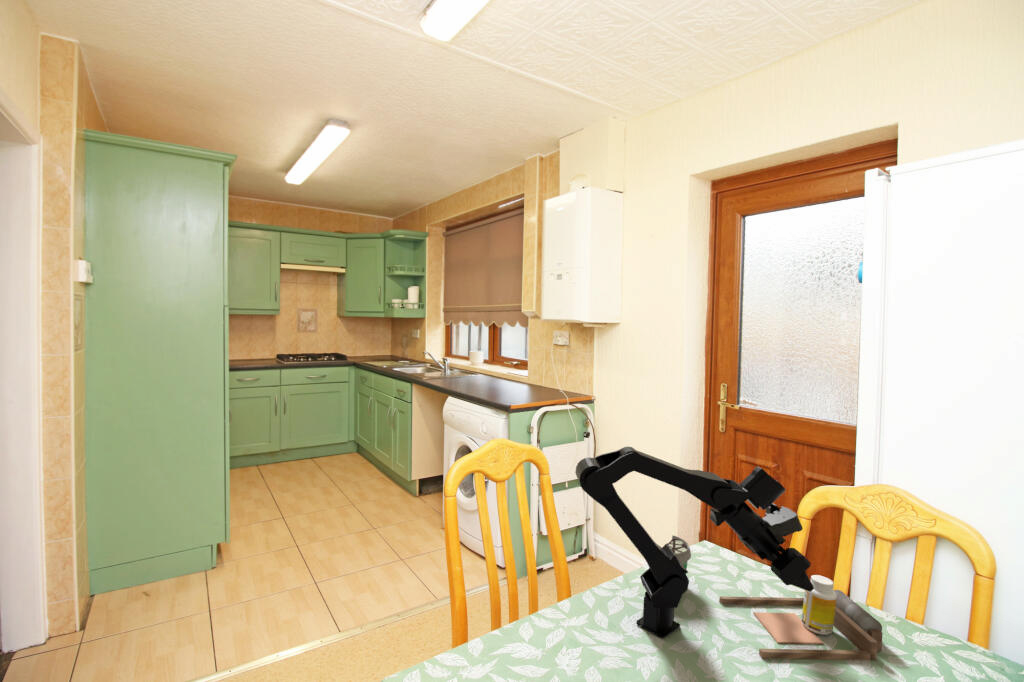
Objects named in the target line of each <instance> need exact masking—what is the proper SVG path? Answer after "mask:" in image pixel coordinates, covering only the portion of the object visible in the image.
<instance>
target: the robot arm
mask: <svg viewBox="0 0 1024 682" xmlns="http://www.w3.org/2000/svg"><path fill="white" fill-rule="evenodd" d="M574 472H575V476H576V478H577V481H578V483H579V486H580V487H581V490H582V491H584V492H585V493H586V494H587V495H588V496H590V498H592V499H593V500H594V502H596V503H597V504H599V505H600V506H602V507H603V508H604V509H605V510H606V511H607V512H608V513H609V515H610V516H611V517H612V519H613V520H614V522H615V523H616V524H617V525H618V527H620V529H621V530H622V531H623V533H624V534H625V535H626V537H627V538H628V539H629V540H630V541H631V543H632V544H633V546H634V547H635V548H636V549H637V552H639V553H640V555H641V556H642V557H643V558H644V560H645V562H646V564H647V565H648V569H646V570H645V571H644V572H643V573H642V574H641V575H640V581H641V583H642V586H643V588H644V590H645V593H644V597H643V609H642V610H643V613H642V616H641V617H640V618H638V619H637V620H636V625H638V626H640V627H641V628H643V629H645V630H647V631H648V632H650V633H651V634H654V636H657V637H659V638H660V639H665V638H666V637H668V636H669V635H671V634H672V633H674V632H675V631H677V630H678V629H680V627H681V624H680V623H679V622H677V621H676V620H674V619H675V609H677V608H678V606H679V604H680V602H681V599H682V598H683V595H685V593H686V592H687V590H688V588H689V584H690V580H689V578H688V575H687V574H688V573H689V571H688V569H687V570H686V568H685V567H684V565H683V564H682V563H681V561H680V560H679V558H678V557H677V556H676V555H674V553H673V552H672V550H671V549H670V547H669V546H668V545H667V543H665V544H664V545H663V546H662V547H661V546H660V545H659V544H657V543H656V541H655V540H654V539H653V538H652V536H651V535H650V534H649V533H648V531H647V529H645V527H644V526H643V525H642V524H641V522H640V521H639V520H638V518H637V517H636V516H635V515H634V513H633V511H632V510H630V508H629V507H628V506H627V504H626V503H625V502H624V500H623V499H622V497H621V496H620V495H619V494H618V492H617V490H616V487H615V486H614V484H615V483H617V482H619V480H620V481H621V479H623V478H624V477H626V476H627V475H628V474H630V473H633V472H635V473H638V474H640V475H643V476H646V477H649V478H651V479H654V480H657V481H660V482H662V483H665V484H668V485H670V486H673V487H676V488H678V489H681V490H683V491H685V492H686V493H689V494H690V495H691V496H693V497H694V498H696V499H698V500H699V501H701V502H702V503H705V504H706V505H708V506H709V507H711V508H710V515H709V519H710V521H711V522H713V524H714V525H715V526H717V527H720V526H721V525H722V524H723V523H724V522H725V523H726V524H727V525H728V526H729V528H731V530H732V531H733V532H734V533H735V534H736V535H737V539H738V540H739V541H740V542H741V543H742V544H743V545H744V546H745V547H746V548H747V549H748V550H750V551H751V553H753V554H755V555H756V556H758V558H760V559H761V560H762V561H763V560H766V561H769V562H771V563H770V571H772V573H774V575H775V576H776V577H778V579H779V580H781V582H782V583H784V584H785V586H790V585H791V586H794V587H796V588H799V589H802V590H804V591H805V590H807V591H809V592H811V591H812V590H813V589H814V587H813V585H812V583H811V578H810V577H809V575H808V574H807V572H806V571H807V570H808V569H809V568H810V567H811V562H810V561H809V559H808V558H807V557H806V556H805V555H804V554H803V553H801V552H800V551H799V550H797V549H796V548H795V547H787V548H786V549H785V548H784V547H783V544H784V543H785V542H786V541H787V540H786V538H785V537H788V536H789V535H792V534H794V533H796V532H801V531H803V526H802V523H801V521H800V518H799V516H798V514H797V513H796V512H795V511H793V510H791V509H790V508H789V507H785V506H783V505H782V506H780V507H779V506H778V505H777V504H775V503H774V502H776V501H777V499H779V498H780V497H781V496H782V495H783V494H784V493H785V492H786V491H787V489H786V488H785V487H784V486H783V485H782V484H781V483H780V482H779V481H778V480H777V479H775V478H774V477H773V476H771V474H769V473H768V472H767V471H765V469H764V468H762V467H760V466H756V467H754V468H753V470H752V471H751V472H750V473H749V474H748V476H746V478H744V479H743V480H742V481H741V482H740V483H739V482H737V481H736V480H733V479H728V478H722V477H720V476H719V475H718V474H717V473H715V472H714V473H713V472H710V471H705V470H699V469H689V468H688V469H687V468H684V467H681V466H679V465H676V464H674V463H671V462H668V461H666V460H663V459H661V458H658V457H656V456H653V455H650V454H647V453H644V452H642V451H639V450H636V448H634V447H633V446H623V447H621V448H620V449H618V450H614V451H611V452H606V453H602V454H600V455H597V456H595V457H584V458H582V459H581V460H579V462H577V464H576V467H575V471H574ZM746 501H747V502H748V503H749V504H750V505H752V507H754V508H755V509H756V510H759V508H760V509H761V510H762V511H765V513H764V515H765V516H763V517H762V516H761V515H760V514H757V512H755V510H753V508H752V507H750V505H748V504H747V502H746ZM781 545H782V546H781ZM685 573H686V574H685Z"/></svg>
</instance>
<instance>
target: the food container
mask: <svg viewBox="0 0 1024 682" xmlns="http://www.w3.org/2000/svg"><path fill="white" fill-rule="evenodd" d="M666 544H667V545H668V546H669V547H670V549H671V550H672V552H673V553H674V555H676V556H677V557H678V558H679V560H680V561H681V563H682V564H683V565H684V567H685V568H686V570H687V571H688V569H687V568H688V561H689V560H690V559H691V558H692V553H691V552H692V551H691V548H690V545H689V544H688V542H687V541H686V540H684V539H683V538H681V537H679V536H676V535H673V534H672V537H671V540H670V541H669V542H668V543H666ZM685 574H686V575H687V573H685Z"/></svg>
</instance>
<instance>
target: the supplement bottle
mask: <svg viewBox="0 0 1024 682" xmlns="http://www.w3.org/2000/svg"><path fill="white" fill-rule="evenodd" d="M810 581H811V583H812V585H813V587H814V589H813V590H812V591H811V592H809V591H807V590H804V596H803V598H804V602H803V606H802V610H801V611H802V612H801V620H802V624H803V625H804V626H805V627H806V628H807V629H809V630H810V631H812V632H814V634H818V635H823V636H827V635H831V634H832V633H833V631H834V630H833V629H834V626H833V624H834V615H835V607H836V599H837V595H836V593H835V592H834V591H833V590H834V581H833V580H832V579H830V578H828V577H825V576H823V575H819V574H814V575H813V574H812V575H811V576H810Z"/></svg>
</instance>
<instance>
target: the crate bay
mask: <svg viewBox="0 0 1024 682" xmlns="http://www.w3.org/2000/svg"><path fill="white" fill-rule="evenodd" d="M833 591H834V592H835V593H836V595H837V599H836V607H835V615H834V624H833V628H835V629H836V630H837V631H839V632H840V633H841V634H842V635H843V636H844V637H845V638H846V639H847V640H848V641H849V642H850V643H851V644H852V645H853V646H854V647H856V648H857V650H855V649H854V650H850V649H849V650H848V649H846V650H845V649H802V648H801V649H795V648H794V649H793V648H759V649H758V655H759V657H760V658H761V659H776V660H777V659H779V660H781V659H785V660H786V659H787V660H827V661H828V660H829V661H830V660H831V661H833V660H834V661H835V660H837V661H841V660H842V661H878V652H882V649H883V633H884V632H883V626H882V623H881V622H880V621H878V620H877V619H876V618H875V617H874V616H872V615H871V613H869V612H868V611H867V610H865V609H864V608H863V607H861V605H859V604H858V603H857V602H855V601H854V600H853V599H852V598H851V597H850V596H848V595H847V594H846V593H845V592H844V591H842V590H839V589H833ZM803 602H804V597H767V596H766V597H763V596H723V595H722V596H719V603H720V605H743V606H745V605H746V606H748V605H750V606H797V607H800V606H801V607H803ZM752 614H753V616H754V617H756V619H757V621H759V622H760V624H761V625H762V626H763V627H764V629H765V630H766V631H767V632H768V634H769V635H770V636H771V637H772V639H774V641H775V642H776V643H777V644H780V645H781V644H783V645H785V644H787V645H789V644H790V645H792V644H793V645H824V641H822V640H821V638H820V637H819V636H818V635H816V633H815V632H812V631H810V630H809V629H807V628H806V627H805V626H804V625H803V624H802V618H800V616H798V615H797V614H796V613H795V612H753V613H752Z"/></svg>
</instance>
